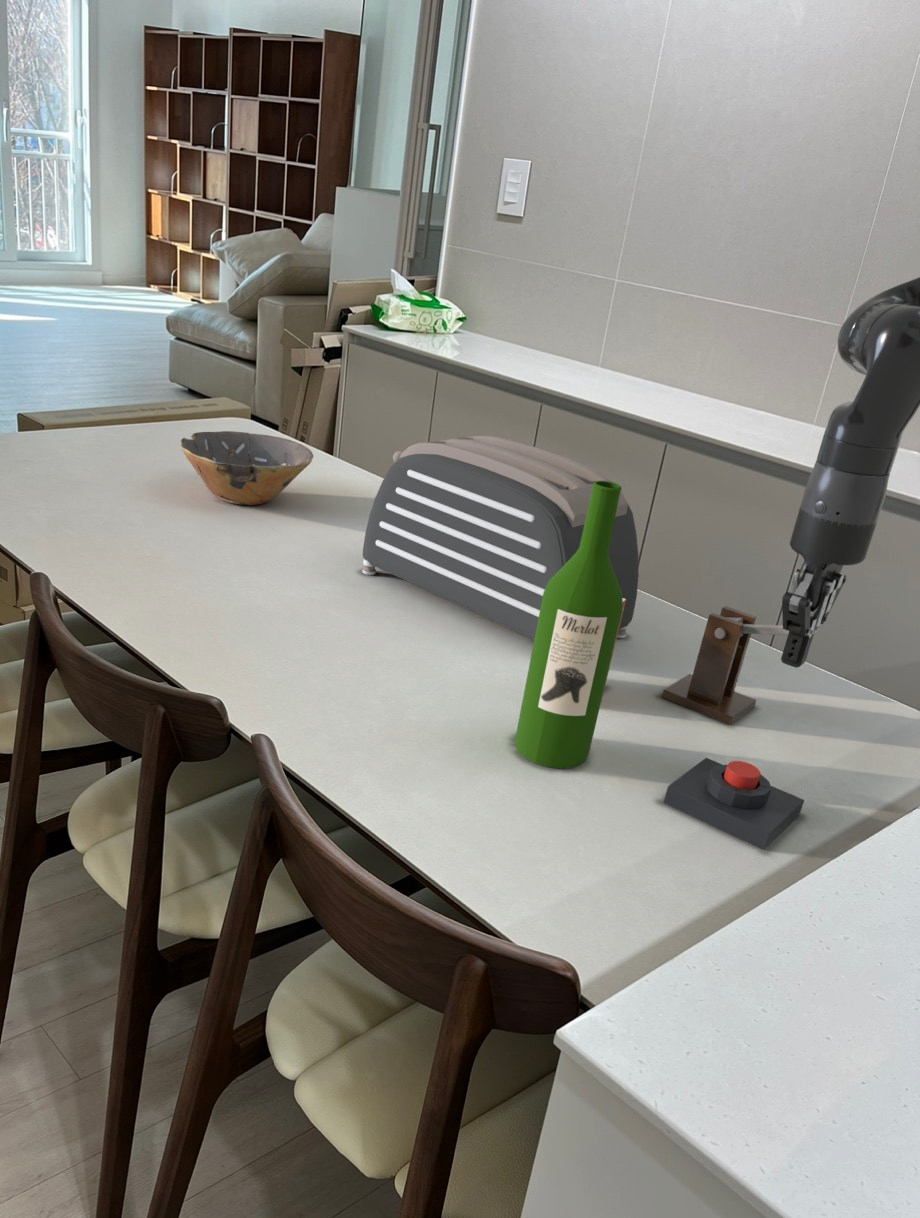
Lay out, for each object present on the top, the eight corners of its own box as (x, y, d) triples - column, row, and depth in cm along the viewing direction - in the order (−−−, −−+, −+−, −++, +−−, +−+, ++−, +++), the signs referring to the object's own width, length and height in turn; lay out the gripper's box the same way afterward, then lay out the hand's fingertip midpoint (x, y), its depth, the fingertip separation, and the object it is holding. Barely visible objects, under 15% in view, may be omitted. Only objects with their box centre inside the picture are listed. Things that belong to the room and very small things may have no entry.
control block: (798, 816, 120) (809, 786, 118) (764, 850, 113) (775, 819, 111) (701, 773, 126) (710, 744, 124) (663, 802, 119) (671, 772, 117)
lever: (820, 635, 134) (819, 617, 133) (805, 645, 130) (805, 626, 129) (727, 632, 142) (726, 614, 141) (711, 641, 138) (710, 623, 137)
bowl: (306, 526, 191) (310, 471, 186) (168, 512, 190) (169, 457, 185) (312, 486, 213) (316, 437, 209) (188, 474, 212) (190, 424, 207)
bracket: (754, 707, 144) (781, 621, 138) (730, 725, 138) (757, 635, 132) (687, 681, 149) (710, 596, 143) (661, 697, 144) (684, 609, 138)
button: (761, 783, 118) (765, 770, 117) (748, 794, 115) (752, 781, 115) (731, 770, 120) (735, 757, 119) (717, 781, 117) (722, 767, 117)
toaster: (421, 546, 188) (440, 410, 177) (632, 636, 161) (669, 483, 150) (342, 564, 175) (356, 419, 164) (556, 665, 149) (591, 500, 138)
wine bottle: (516, 764, 123) (570, 491, 108) (511, 727, 131) (561, 468, 116) (592, 773, 123) (657, 501, 108) (583, 736, 131) (642, 478, 116)
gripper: (855, 532, 101) (804, 693, 109) (896, 508, 110) (846, 658, 119) (779, 511, 105) (735, 668, 113) (825, 490, 114) (781, 636, 123)
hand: (792, 663), depth 116 cm, fingers closed
